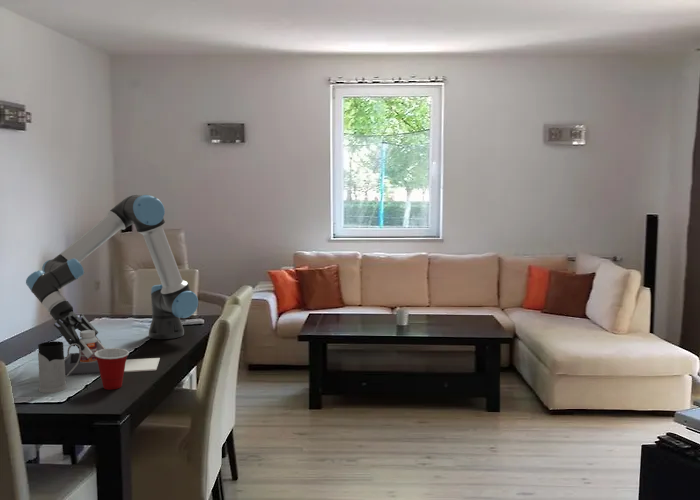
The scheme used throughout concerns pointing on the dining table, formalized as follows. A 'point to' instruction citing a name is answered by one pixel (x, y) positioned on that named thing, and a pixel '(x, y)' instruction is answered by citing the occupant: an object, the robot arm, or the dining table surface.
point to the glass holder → (53, 366)
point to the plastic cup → (111, 366)
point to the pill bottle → (90, 342)
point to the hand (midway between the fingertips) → (96, 353)
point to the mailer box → (93, 367)
